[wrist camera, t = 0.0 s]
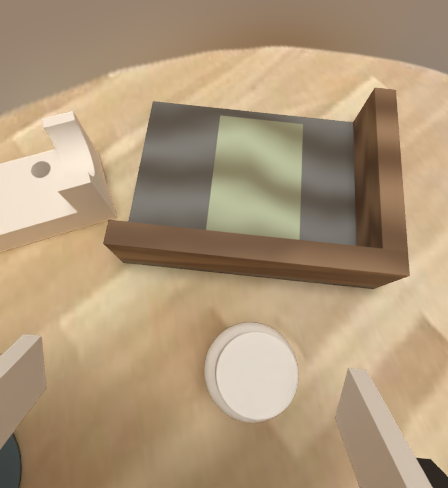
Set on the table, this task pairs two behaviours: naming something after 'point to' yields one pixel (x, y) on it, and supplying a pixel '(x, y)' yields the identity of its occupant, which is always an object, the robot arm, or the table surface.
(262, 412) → the pill bottle
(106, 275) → the table surface
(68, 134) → the bracket
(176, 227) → the tray
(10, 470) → the cocktail glass
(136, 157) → the table surface
